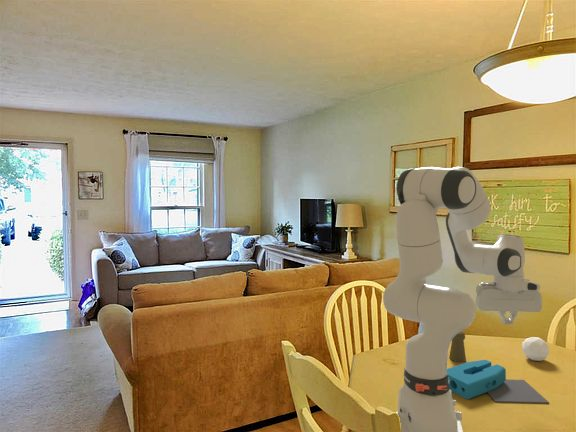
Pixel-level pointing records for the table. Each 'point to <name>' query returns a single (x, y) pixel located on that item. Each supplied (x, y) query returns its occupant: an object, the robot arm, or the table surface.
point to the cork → (458, 348)
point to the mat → (516, 393)
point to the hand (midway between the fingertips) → (507, 324)
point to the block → (475, 378)
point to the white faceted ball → (535, 348)
